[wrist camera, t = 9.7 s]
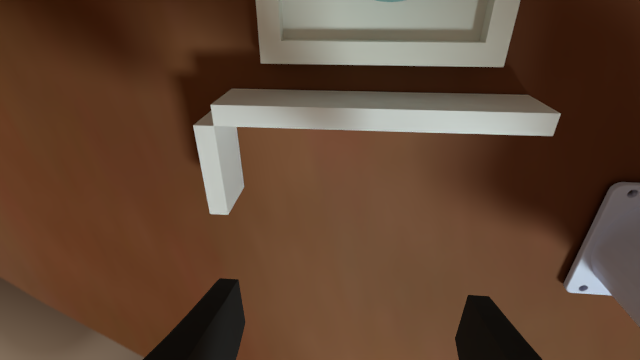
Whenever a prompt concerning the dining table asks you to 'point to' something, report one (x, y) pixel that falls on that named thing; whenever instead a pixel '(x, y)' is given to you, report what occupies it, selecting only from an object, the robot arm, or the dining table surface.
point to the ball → (389, 0)
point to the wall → (351, 122)
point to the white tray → (386, 32)
